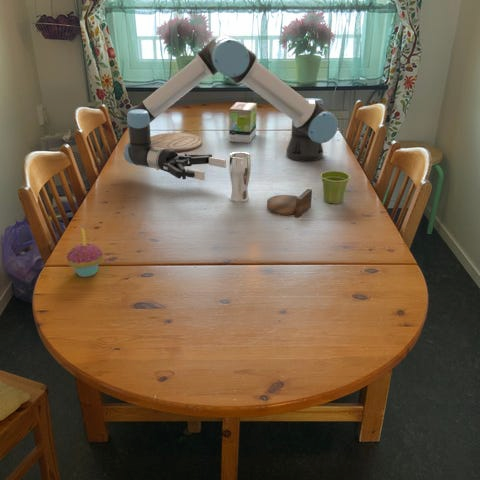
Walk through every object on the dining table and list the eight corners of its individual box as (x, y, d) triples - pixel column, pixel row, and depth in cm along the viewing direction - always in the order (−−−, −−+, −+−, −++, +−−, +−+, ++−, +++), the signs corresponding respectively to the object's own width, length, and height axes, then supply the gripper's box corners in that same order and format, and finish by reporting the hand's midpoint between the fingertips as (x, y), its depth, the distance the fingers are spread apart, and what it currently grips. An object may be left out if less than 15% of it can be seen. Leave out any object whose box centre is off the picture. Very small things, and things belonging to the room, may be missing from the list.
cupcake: (73, 264, 127) (66, 221, 122) (107, 262, 128) (101, 220, 122) (66, 282, 120) (58, 237, 114) (102, 280, 120) (95, 236, 115)
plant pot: (330, 208, 159) (332, 182, 155) (313, 198, 166) (315, 173, 162) (353, 203, 163) (356, 178, 159) (335, 193, 170) (338, 169, 166)
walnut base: (260, 210, 157) (260, 193, 154) (276, 197, 166) (277, 180, 164) (297, 219, 152) (299, 201, 149) (312, 205, 161) (313, 188, 158)
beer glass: (237, 193, 170) (237, 150, 163) (254, 197, 166) (255, 154, 159) (225, 199, 165) (224, 155, 158) (242, 204, 161) (242, 160, 154)
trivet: (133, 149, 214) (133, 144, 213) (163, 134, 235) (162, 130, 234) (185, 156, 206) (185, 151, 205) (211, 140, 226) (211, 136, 225)
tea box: (250, 143, 222) (251, 109, 215) (228, 141, 223) (228, 108, 216) (256, 134, 235) (257, 102, 228) (235, 132, 236) (235, 101, 230)
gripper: (184, 159, 186) (233, 169, 177) (141, 180, 167) (194, 192, 158) (183, 140, 183) (233, 148, 174) (139, 159, 163) (193, 170, 154)
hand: (215, 169), depth 166 cm, fingers open, 13 cm apart
